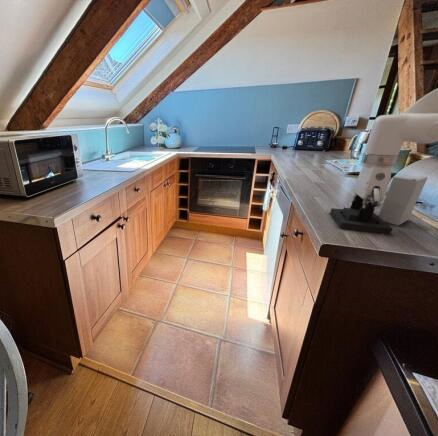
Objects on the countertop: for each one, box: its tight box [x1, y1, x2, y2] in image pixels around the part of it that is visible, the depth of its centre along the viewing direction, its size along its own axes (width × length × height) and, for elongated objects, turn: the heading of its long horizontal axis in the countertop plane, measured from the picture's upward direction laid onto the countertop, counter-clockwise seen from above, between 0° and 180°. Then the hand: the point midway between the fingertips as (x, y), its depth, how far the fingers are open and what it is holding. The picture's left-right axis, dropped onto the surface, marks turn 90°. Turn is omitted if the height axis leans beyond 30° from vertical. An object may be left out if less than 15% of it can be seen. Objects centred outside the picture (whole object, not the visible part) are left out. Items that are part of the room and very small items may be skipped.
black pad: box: [342, 207, 378, 224], centre depth 78 cm, size 7×7×2 cm
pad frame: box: [329, 207, 393, 235], centre depth 79 cm, size 12×14×2 cm
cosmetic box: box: [377, 173, 429, 226], centre depth 78 cm, size 8×6×15 cm
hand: (359, 215), depth 78 cm, fingers closed on black pad, 7 cm apart
